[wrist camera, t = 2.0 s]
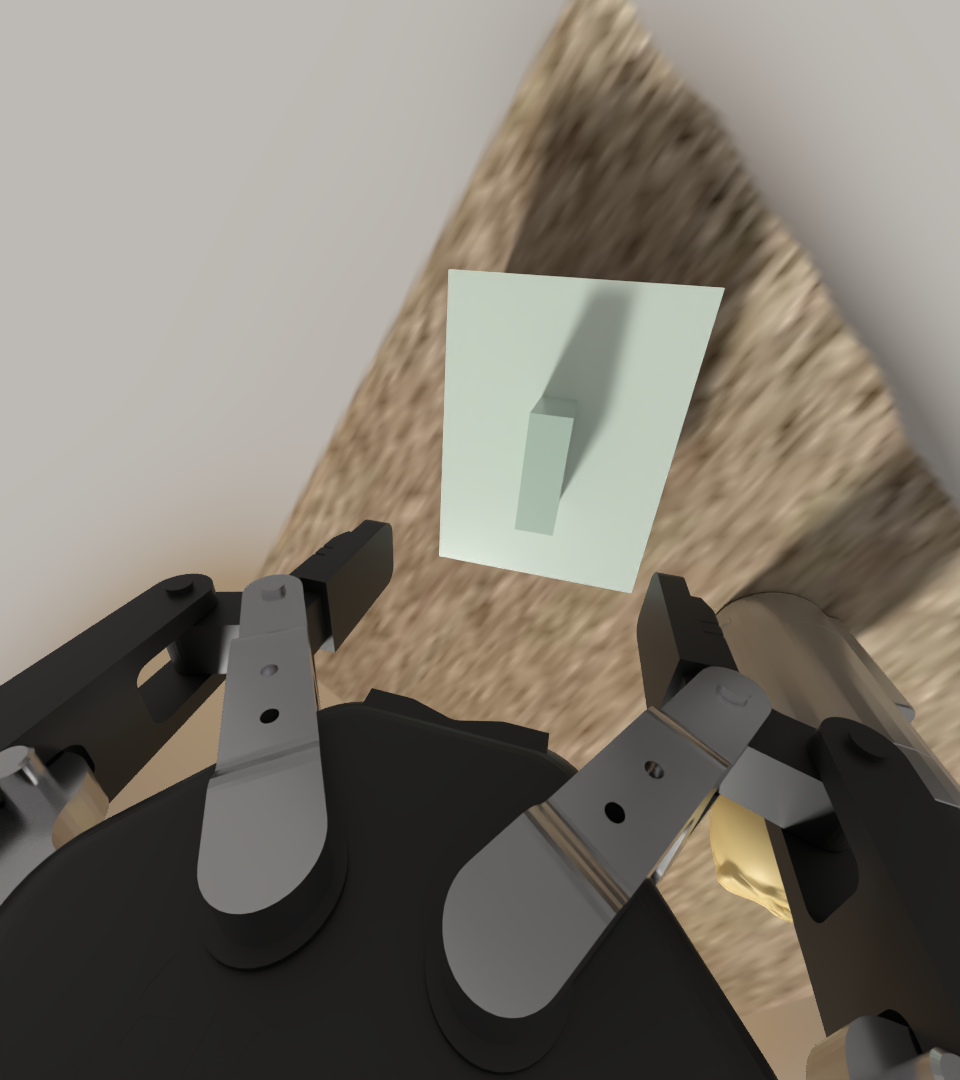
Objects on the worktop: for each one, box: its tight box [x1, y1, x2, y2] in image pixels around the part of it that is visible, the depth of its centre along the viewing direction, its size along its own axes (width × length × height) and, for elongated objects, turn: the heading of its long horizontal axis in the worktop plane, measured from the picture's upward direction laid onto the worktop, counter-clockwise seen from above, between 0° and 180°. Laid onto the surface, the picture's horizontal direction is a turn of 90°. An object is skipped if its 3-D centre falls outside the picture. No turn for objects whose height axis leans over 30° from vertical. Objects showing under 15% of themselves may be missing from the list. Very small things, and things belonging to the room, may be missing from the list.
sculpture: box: [710, 795, 793, 923], centre depth 40 cm, size 11×12×11 cm
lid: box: [439, 269, 725, 593], centre depth 23 cm, size 13×17×7 cm
